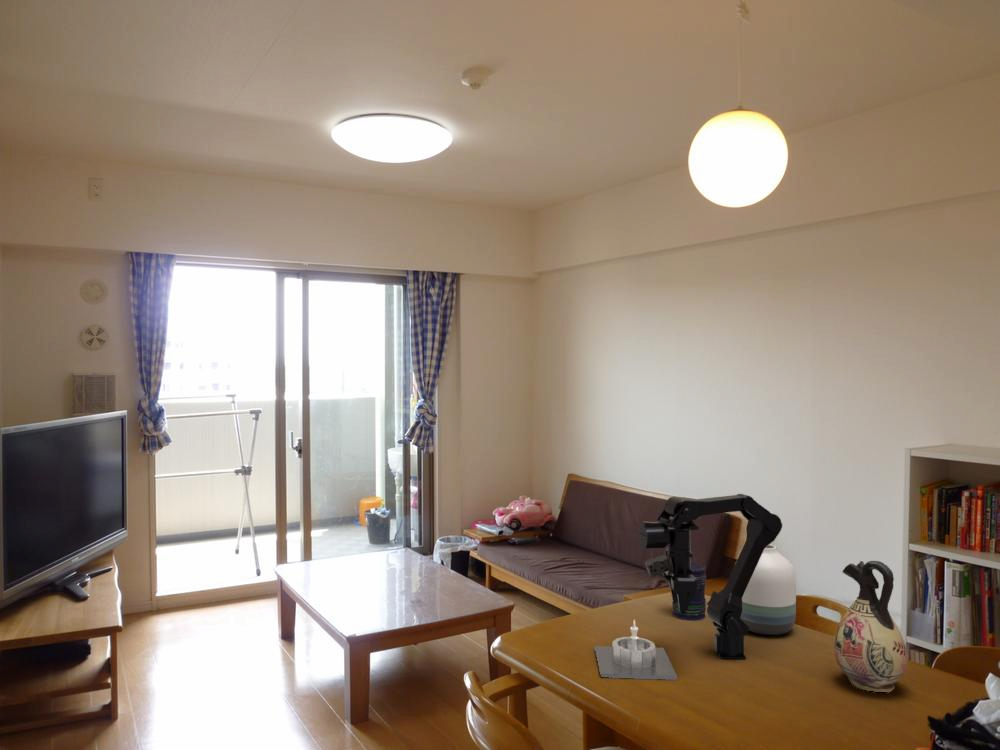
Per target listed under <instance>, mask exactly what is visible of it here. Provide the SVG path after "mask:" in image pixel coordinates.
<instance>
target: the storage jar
mask: <svg viewBox="0 0 1000 750" xmlns="http://www.w3.org/2000/svg"><path fill="white" fill-rule="evenodd" d="M706 568H707V567H706V566H705V565H704V564H700V563H696V562H691V569H692V574H687V575H693V576H694V577H695V578H696V579H697V580H698V582H699V590H697V592H696V593H695V595H694V597H693V599H692V600H691V602H690V604H689V607H688V609H687V611H686V613H685V614H680V609H679V603H678V602H677V603H674V602H673V599H672V598H671V599H672V605H671V606H672V616H673V617H675V618H676V619H679V620H682V621H683V620H684V621H691V622H698V621H703V620H704V618H705V619H706V610H707V601H706V596H705V595H706V593H705V591H706V590H705V589H706V588H705V587H706V586H707V582H706V580H707V575H706ZM702 619H703V620H702Z"/></svg>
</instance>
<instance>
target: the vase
mask: <svg viewBox="0 0 1000 750" xmlns="http://www.w3.org/2000/svg"><path fill="white" fill-rule="evenodd" d="M736 562H737V560H736ZM736 562H735V564H736ZM735 564H734V565H735ZM793 566H794V565H792V563H791V562H790V561H789V560H788V559H787V558H786V557H784V556H783V555H782V554H781V552H778V550H777V546H776V545H774V544H772V543H770V544H769V545H768V546H767V547H765V549H764V551H763V553H762V555H761V557H760V560H759V562H758V564H757V566H756V568H755V570H754V573H753V575H752V577H751V579H750V581H749V584H748V586H747V588H746V590H745V592H744V595H743V597H742V614H741V617H740V619H741V620H742V621H743V622H744V623H745V624H746V625H747V626H748V627H749V630H748V632H750V633H755V634H760V635H765V636H778V635H782V634H783V635H784V634H786V633H788V632H790V631H791V630H792V629H793V627H794V625H795V623H796V622H795V621H796V613H797V612H796V611H797V579H796V571H795V568H794V567H793Z"/></svg>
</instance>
